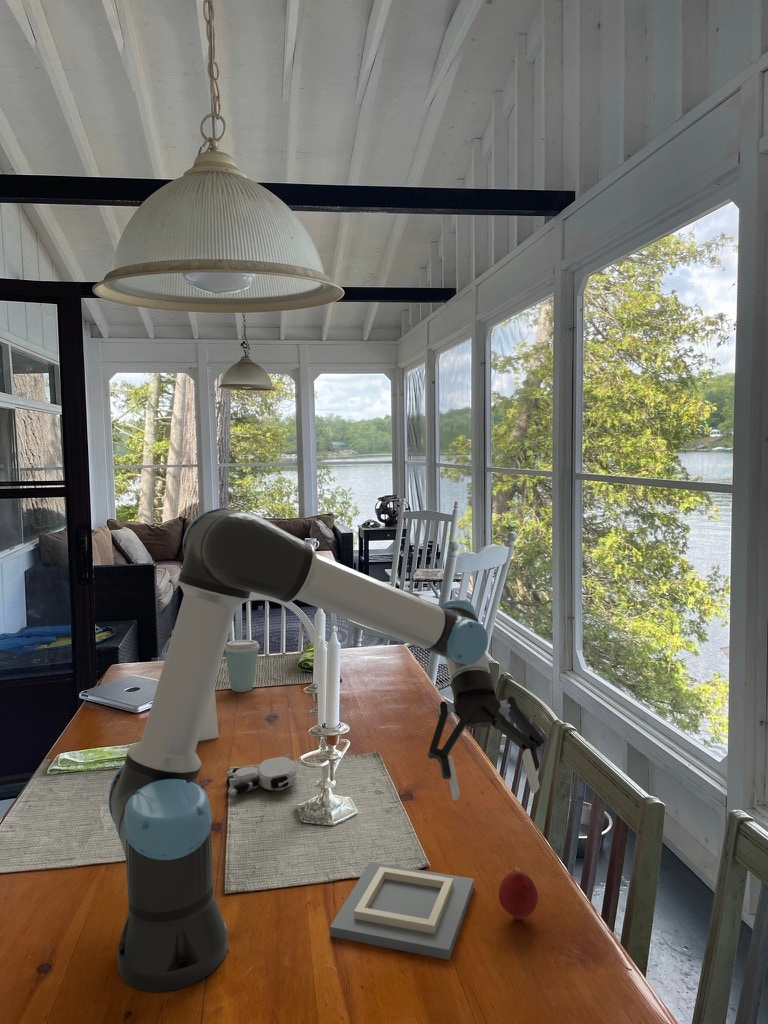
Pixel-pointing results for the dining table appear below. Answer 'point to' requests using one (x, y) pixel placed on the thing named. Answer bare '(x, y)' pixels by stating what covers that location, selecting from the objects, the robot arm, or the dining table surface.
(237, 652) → the disposable coffee cup
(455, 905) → the plate
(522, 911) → the onion
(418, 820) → the dining table surface
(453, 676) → the robot arm
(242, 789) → the robot toy
